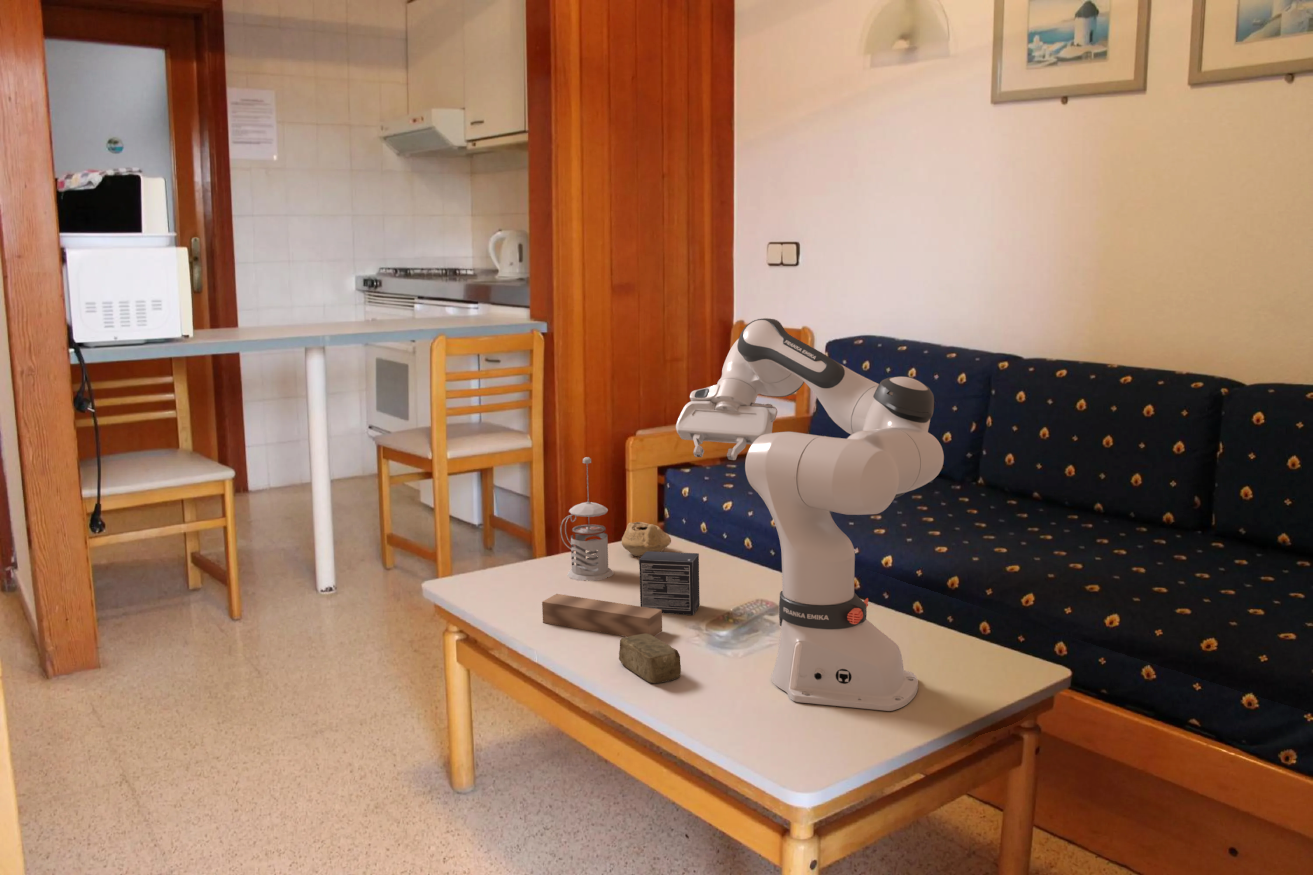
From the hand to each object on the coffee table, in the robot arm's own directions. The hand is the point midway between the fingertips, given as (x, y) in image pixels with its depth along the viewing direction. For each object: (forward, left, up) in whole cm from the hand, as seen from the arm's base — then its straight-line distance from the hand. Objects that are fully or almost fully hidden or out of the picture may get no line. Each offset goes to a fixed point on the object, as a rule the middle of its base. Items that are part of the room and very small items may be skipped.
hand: (714, 456), depth 218 cm
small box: (0, +21, -26) cm, 33 cm away
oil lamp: (+22, -10, -26) cm, 35 cm away
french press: (+26, +8, -26) cm, 37 cm away
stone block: (-10, +50, -26) cm, 57 cm away
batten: (+7, +35, -25) cm, 44 cm away
